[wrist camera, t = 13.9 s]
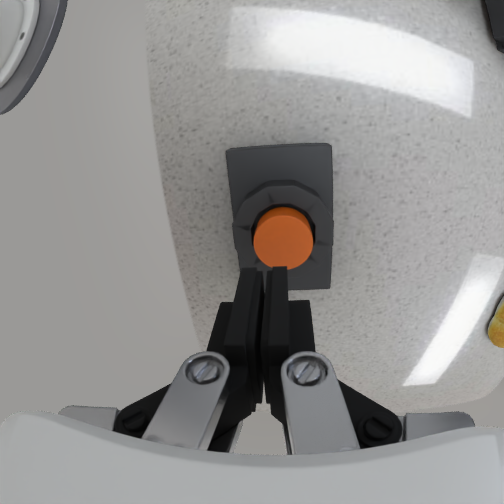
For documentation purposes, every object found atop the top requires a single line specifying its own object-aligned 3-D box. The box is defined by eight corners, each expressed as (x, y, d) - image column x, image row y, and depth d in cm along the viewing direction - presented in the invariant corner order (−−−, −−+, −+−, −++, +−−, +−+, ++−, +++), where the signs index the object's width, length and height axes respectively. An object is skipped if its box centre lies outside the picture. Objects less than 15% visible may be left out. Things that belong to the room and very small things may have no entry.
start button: (253, 208, 18) (250, 217, 16) (310, 205, 17) (313, 214, 16) (258, 258, 19) (255, 271, 18) (311, 256, 19) (313, 269, 17)
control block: (229, 148, 19) (219, 153, 16) (327, 143, 18) (336, 147, 15) (245, 280, 24) (239, 305, 21) (327, 277, 23) (333, 302, 20)
